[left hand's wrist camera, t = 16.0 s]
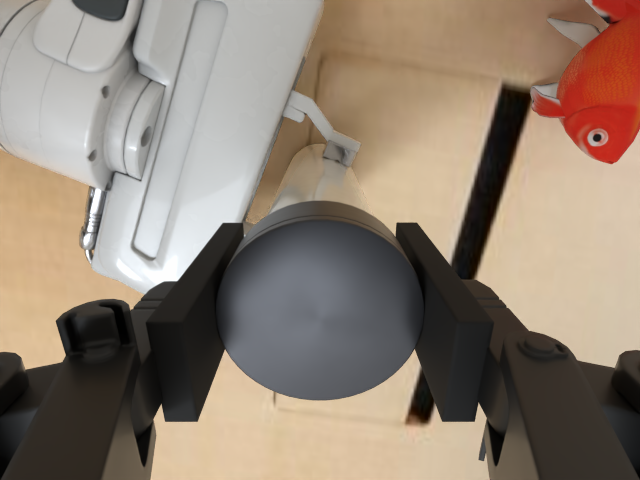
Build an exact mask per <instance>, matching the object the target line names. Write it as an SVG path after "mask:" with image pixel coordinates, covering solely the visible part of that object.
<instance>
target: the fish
mask: <svg viewBox="0 0 640 480" xmlns="http://www.w3.org/2000/svg"><path fill="white" fill-rule="evenodd" d="M585 1H586V2H587V3H588V4H589V5H590V6H591V7H592V8H593V9H594V10H595V11H596V12H597V13H598V14H599V15H600V16H601V17H602V18H603V19H604V20H605V21H606V22H607V23H608V24H610V25H609V27H608V28H607V29H606V30H604V31H603V32H602V33H600V32H599V30H598V28H596V27H595V26H593V25H591V24H586V23H578V22H570V21H563V20H558V19H553V18H548V19H547V21H548V22H549V23H550V24H551V25H552V26H553V27H554V28H556V29H557V30H558V31H559V32H560V33H561V34H563V35H564V36H565V37H567V38H569V39H570V40H572V41H574V42H575V43H577V44H578V45H579V46H580V47H581V48H582V49H581V50H580V51H579V52H578V53H577V54H576V56H575V57H574V58H573V59H572V61H571V62H570V64H569V65H568V67H567V68H566V70H565V71H564V73H563V75H562V77H561V79H560V81H559V83H551V84H547V85H534V86H532V88H531V91H530V94H531V97H532V106H531V108H532V109H533V111H535V112H537V113H538V114H539V115H540V116H544V117H549V118H559V120H560V121H561V123H562V125H563V127H564V128H565V131H566V133H567V134H568V135H569V136H570V138H571V139H572V140H573V141H574V143H575V144H576V145H577V146H578V147H579V148H580V149H581V150H582V151H583V152H584V153H585V154H587V155H588V156H590V157H592V158H593V159H596V160H599V161H602V162H605V163H609V164H613V163H615V162H617V161H618V160H619V159H620V157H621V156H622V155H623V154H624V152H625V151H626V150H627V149H628V147H629V146H630V145H631V144H632V142H633V141H634V139H635V137H636V135H637V134H638V131H639V129H640V0H585Z"/></svg>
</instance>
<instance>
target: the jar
mask: <svg viewBox="0 0 640 480" xmlns="http://www.w3.org/2000/svg"><path fill="white" fill-rule="evenodd" d="M324 147H325V144H312V145H309V146H306V147H304V148H302V149H301V150H300V151H298V152H297V153H296V154H295V156H294V157H293V158H292V160H291V162H290V164H289V166H288V168H287V171H286V173H285V175H284V177H283V179H282V181H281V184H280V186H279V188H278V190H277V192H276V195H275V197H274V199H273V201H272V203H271V205H270V208H269V210H268V212H267V214H266V216H267V215H269V214H271V213H273V212H274V211H276V210H278V209H281V208H283V207H286V206H288V205H292V204H296V203H299V202H306V201H334V202H340V203H344V204H348V205H352V206H354V207H357V208H359V209H361V210H364V211H365V212H367V213H369V214H371V215H372V216H374V215H373V213H372V210H371V208H370V206H369V204H368V202H367V200H366V197H365V195H364V193H363V191H362V189H361V187H360V184H359V182H358V180H357V178H356V176H355V173H354V171H353V169H352V167H347V166H344V165H342V164H341V163H340V162H339V161H338V160H335V161H334V160H331V159H328V158H326V157H324V156H323V149H324ZM266 216H265V217H266Z"/></svg>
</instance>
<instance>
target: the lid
mask: <svg viewBox="0 0 640 480" xmlns="http://www.w3.org/2000/svg"><path fill="white" fill-rule="evenodd" d="M424 312H425V301H424V296H423V290H422V287H421V284H420V281H419V278H418V276H417V274H416V272H415V271H414V269H413V267H412V265H411V263H410V261H409V260H408V258H407V256H406V254H405V252H404V250H403V249H402V247H401V245H400V243H399V241H398V240H397V239H396V237H395V236H394V235H393V233H392V232H391V231H390V230H389V229H388V228H387V227H386V226H385V225H384V224H383V223H382V222H381V221H379V220H378V219H377V218H375V217H374V216H372V215H371V214H369V213H367V212H365V211H364V210H361V209H359V208H357V207H354V206H352V205H348V204H344V203H340V202H334V201H306V202H299V203H296V204H292V205H288V206H286V207H283V208H281V209H278V210H276V211H274V212H273V213H271V214H269V215H267V216H266V217H264V218H263V219H262V220H260V221H259V222H258V223H257V224H256V225H255V226H254V227H253V228H252V229H251V230H250V231H249V232H248V233H247V234H246V236H245V237H244V238H243V240H242V241H241V243H240V245H239V246H238V248H237V250H236V252H235V254H234V255H233V257H232V259H231V261H230V263H229V265H228V266H227V268H226V270H225V272H224V274H223V276H222V278H221V281H220V283H219V286H218V289H217V294H216V300H215V315H216V323H217V329H218V333H219V336H220V339H221V341H222V343H223V346H224V348H225V349H226V351H227V353H228V354H229V356H230V357H231V359H232V360H233V361H234V362H235V364H236V365H237V366H238V367H239V368H240V369H241V370H242V371H243V372H244V373H245V374H246V375H248V376H249V377H250V378H252V379H253V380H254V381H256V382H257V383H259V384H261V385H262V386H264V387H266V388H268V389H270V390H272V391H275V392H277V393H280V394H283V395H286V396H289V397H294V398H299V399H306V400H333V399H341V398H346V397H350V396H354V395H357V394H360V393H363V392H365V391H367V390H369V389H372V388H374V387H376V386H377V385H379V384H381V383H382V382H384V381H385V380H387V379H388V378H389V377H391V376H392V375H393V374H394V373H395V372H397V371H398V370H399V369H400V368H401V367H402V366H403V364H404V363H405V362H406V361H407V359H408V358H409V357H410V355H411V354H412V352H413V350H414V349H415V347H416V345H417V343H418V340H419V338H420V335H421V332H422V328H423V321H424Z"/></svg>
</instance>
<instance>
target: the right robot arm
mask: <svg viewBox="0 0 640 480" xmlns="http://www.w3.org/2000/svg"><path fill="white" fill-rule="evenodd" d="M323 11H324V0H0V149H1V150H2V151H4V152H6V153H8V154H10V155H12V156H14V157H17V158H19V159H22V160H24V161H27V162H30V163H32V164H35V165H37V166H40V167H43V168H45V169H48V170H50V171H53V172H55V173H58V174H61V175H63V176H66V177H69V178H71V179H74V180H77V181H79V182H82V183H84V184H87V185H89V192H88V197H87V201H86V208H85V209H86V210H85V221H84V225H83V226H82V228H81V231H80V235H79V245H80V247H81V248H83V249H84V251H85V255H86V258H87V260H88V262H89V263H90V264H91V267H92V269H93V270H94V271H95V272H97V273H99V274H101V275H103V276H106V277H109V278H112V279H115V280H117V281H120V282H122V283H124V284H125V285H127V286H129V287H131V288H133V289H134V290H136V291H138V292H140V293H142V294H144V295H145V294H146V293H147V292H148V291H149V289H151V288H153V287H155V286H156V285H158V284H160V283H161V282H163V281H178V280H179V279H180V277H181V276H182V275H183V273H184V272H185V271H186V270H187V268H188V267H189V266H190V264H191V263H192V262H193V260H194V259H195V258H196V257H197V255H198V254H199V253H200V251H201V250H202V249H203V248H204V246H205V245H206V244H207V242H208V241H209V240H210V239H211V237H212V236H213V235H214V233H215V232H216V231H217V230H218V228H219V227H220V226H221V224H222V223H243V228H244V237H245V236H246V234H247V233H248V232H249V231H250V230H251V229H252V228H253V227H254V226H255V225H254V224H251V223H249V222H246V221H245V220H246V218H247V215H248V212H249V210H250V207H251V204H252V202H253V199H254V196H255V194H256V191H257V188H258V186H259V183H260V180H261V178H262V175H263V172H264V170H265V167H266V164H267V162H268V159H269V156H270V154H271V151H272V148H273V146H274V143H275V140H276V138H277V135H278V132H279V130H280V127H281V124H282V122H283V119H284V116H285V117H287V118H290V119H292V120H294V121H297V122H299V123H301V122H303V120H304V118H305V116H306V114H307V115H308V116H309V118H310V119H311V120H312V122H313V123H314V124H315V126H316V127H317V129H318V130H319V131H320V133H321V134H322V135H323V137H324V138H325V139H326V141H327V142H326V144H325V147H324V149H323V156H324V157H326V158H328V159H331V160H334V161H335V160H338V161H339V162H340V163H341V164H342V165H344V166H347V167H351V165H352V163H353V161H354V159H355V157H356V155H357V152H358V150H359V148H360V146H361V143H360V142H359V141H357V140H355V139H353V138H351V137H348V136H346V135H344V134H342V133H340V132H337V131H335V130H333V127H332V125H331V124H330V123H329V121H328V120H327V118H326V117H325V116H324V114H323V113H322V111H321V110H320V109H319V107H318V106H317V104H316V103H315V102H314V100H313V99H312V98H310V97H307V96H305V95H303V94H301V93H299V92H297V91H294V90H295V87H296V84H297V82H298V79H299V76H300V74H301V71H302V68H303V66H304V63H305V60H306V58H307V55H308V52H309V50H310V47H311V44H312V42H313V39H314V36H315V34H316V31H317V28H318V26H319V23H320V20H321V17H322V15H323ZM94 249H95V250H94ZM92 250H94V254H93V253H92Z"/></svg>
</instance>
